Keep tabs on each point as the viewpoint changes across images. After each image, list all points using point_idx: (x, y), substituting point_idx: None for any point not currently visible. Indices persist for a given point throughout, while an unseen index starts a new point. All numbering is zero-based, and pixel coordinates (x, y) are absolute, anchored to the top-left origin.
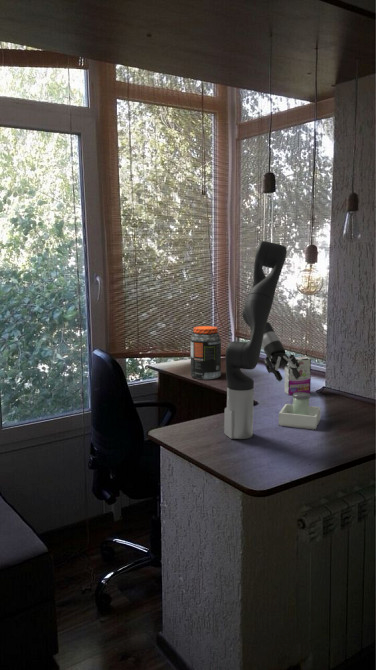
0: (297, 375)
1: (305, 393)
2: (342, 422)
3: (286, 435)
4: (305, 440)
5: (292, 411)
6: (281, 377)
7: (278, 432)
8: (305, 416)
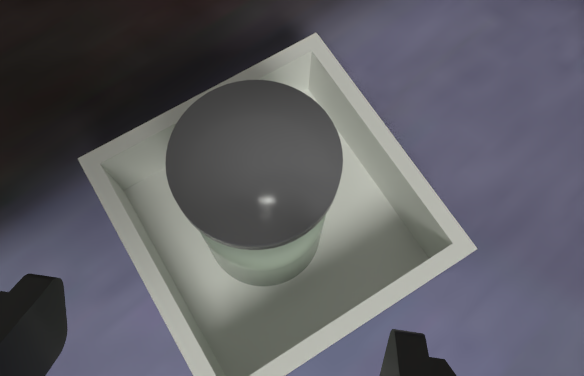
0: (47, 302)
1: (195, 152)
2: (63, 71)
3: (532, 113)
4: (496, 8)
5: (208, 348)
6: (413, 338)
7: (539, 175)
8: (356, 90)
